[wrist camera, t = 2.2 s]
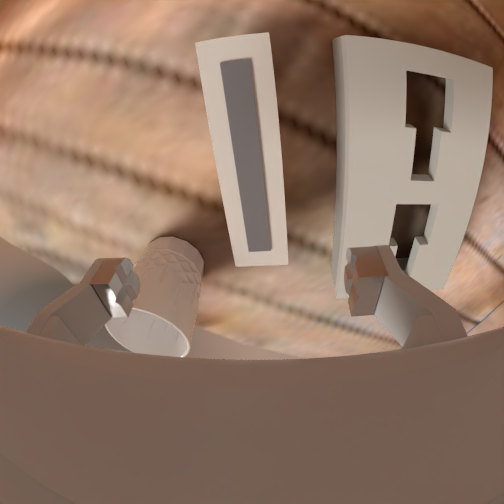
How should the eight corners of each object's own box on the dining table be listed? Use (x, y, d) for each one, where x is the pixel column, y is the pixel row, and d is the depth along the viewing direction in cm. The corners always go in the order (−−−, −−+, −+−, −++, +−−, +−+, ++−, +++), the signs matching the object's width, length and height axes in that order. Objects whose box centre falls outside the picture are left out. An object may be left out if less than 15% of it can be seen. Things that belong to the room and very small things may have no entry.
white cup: (202, 228, 27) (174, 309, 19) (215, 286, 32) (199, 364, 24) (131, 232, 28) (89, 304, 20) (153, 286, 33) (125, 355, 25)
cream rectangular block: (215, 46, 16) (194, 42, 12) (270, 40, 16) (268, 32, 11) (242, 224, 26) (235, 268, 22) (285, 222, 26) (288, 265, 21)
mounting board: (331, 39, 15) (345, 34, 12) (463, 61, 14) (492, 67, 11) (330, 268, 29) (336, 298, 26) (429, 262, 27) (443, 288, 24)
